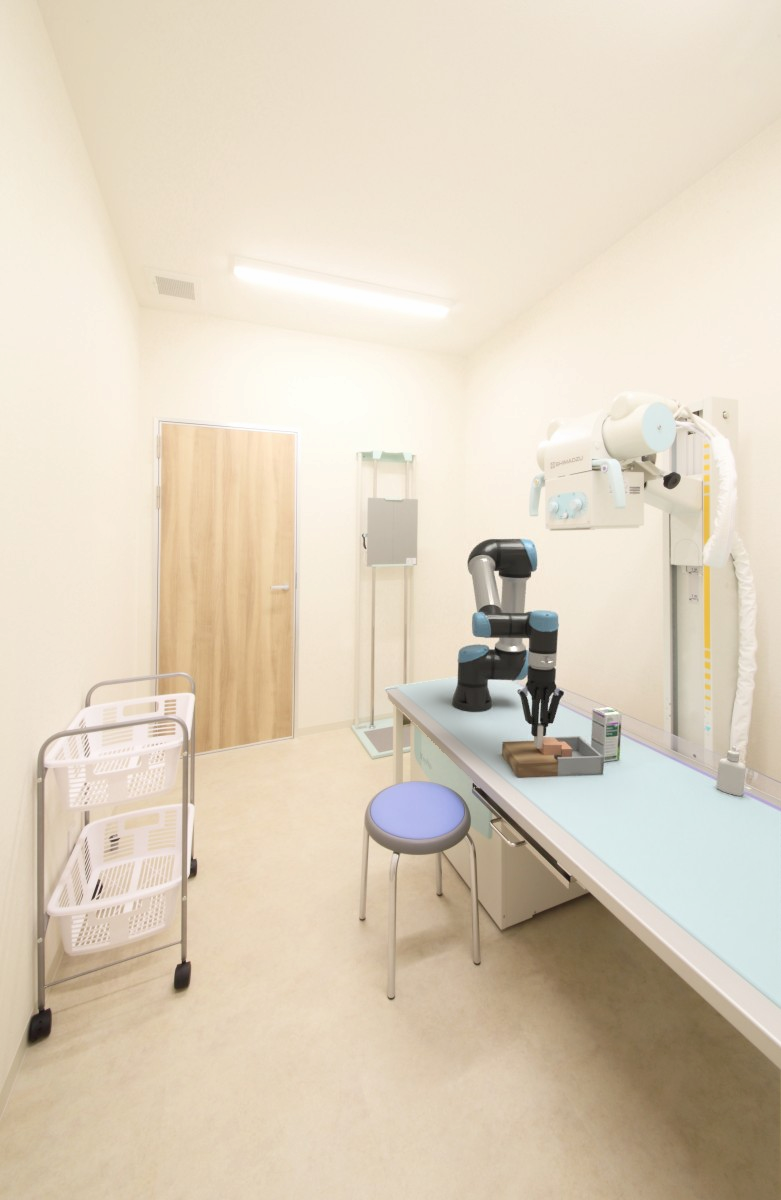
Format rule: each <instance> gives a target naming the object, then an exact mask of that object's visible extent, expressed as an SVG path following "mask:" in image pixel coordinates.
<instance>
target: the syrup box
mask: <svg viewBox="0 0 781 1200" xmlns="http://www.w3.org/2000/svg"><path fill="white" fill-rule="evenodd" d="M591 714H592V718H591V719H592V721H591V741H590V745H591V746H592V747H593V748H594V749H595V750H596V751H598V752H599V753H600V754H601V755H602V756H604V763H606V762H612V761H620V756H621V755H620V753H621V735H622V722H623V721H622V717H623V715H622V714H623V713H622V712H620V711H619V710H617V709H615V708H612V707H609V706H606V707H600V708H592V712H591Z"/></svg>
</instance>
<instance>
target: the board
mask: <svg viewBox="0 0 781 1200" xmlns="http://www.w3.org/2000/svg"><path fill="white" fill-rule="evenodd" d="M501 745H502V749H501V755H502V757H503V758H504V759H505V761H506V762H507V764H508V765H509V766H510V768H511V769H512V771H513V772H514V773H515V775H516V776H517V777H518V779H519V778H539V777H540V778H541V777H559V776H558V761H557V760H556V759H555V758H554V757H553V756H552V755H543V754H542V752H541V751H540V750H539V749H537V748H536V747H535V745H534V740H516V741H515V740H513V741H510V740H509V741H502V744H501Z"/></svg>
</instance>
